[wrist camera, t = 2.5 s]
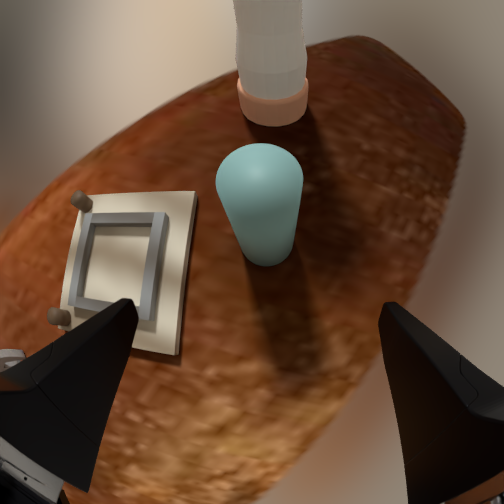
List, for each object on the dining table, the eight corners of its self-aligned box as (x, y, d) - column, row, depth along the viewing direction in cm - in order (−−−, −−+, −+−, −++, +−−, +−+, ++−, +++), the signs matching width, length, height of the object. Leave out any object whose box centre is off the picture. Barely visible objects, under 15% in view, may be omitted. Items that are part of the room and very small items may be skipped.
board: (178, 354, 21) (164, 357, 18) (64, 328, 22) (44, 326, 20) (197, 196, 25) (188, 179, 22) (88, 199, 26) (73, 187, 23)
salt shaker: (313, 124, 26) (328, -51, 8) (243, 130, 27) (209, -47, 8) (299, 82, 28) (301, -62, 10) (238, 88, 29) (212, -57, 11)
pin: (292, 267, 22) (303, 219, 13) (238, 265, 23) (210, 216, 13) (293, 217, 24) (302, 144, 14) (242, 215, 24) (221, 143, 14)
